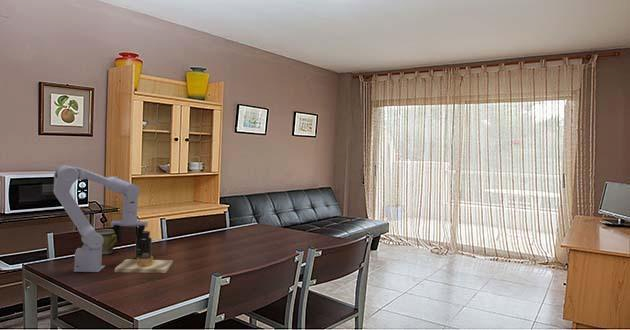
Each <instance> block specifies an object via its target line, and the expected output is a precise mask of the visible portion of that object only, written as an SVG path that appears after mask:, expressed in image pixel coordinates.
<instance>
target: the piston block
mask: <svg viewBox="0 0 630 330" xmlns="http://www.w3.org/2000/svg"><path fill="white" fill-rule="evenodd" d="M147 258H149V253H142V259H147ZM173 263H174V260H173V259H172V260H171V259H153V264H152V265H150V266H138V265H137V259H135V258H134V259H133V258H132V259H130V258H129V259H127V258H126V259H124V260H123V261H122V262H121V263H120V264H119V265H117V266H115V268H114V273H138V274H139V273H144V274H145V273H147V274H148V273H149V274H156V273H157V274H167V272H168V271H169V270H170V268H171V266H172V265H173Z"/></svg>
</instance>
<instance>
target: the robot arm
mask: <svg viewBox="0 0 630 330" xmlns="http://www.w3.org/2000/svg"><path fill="white" fill-rule="evenodd" d="M53 179H54V180H53V195H54V196H55V198H57V200H58V202H59V203H60V204H61V205H62V207H63V209H64V210H65V212H66V213H67V215H68V216H69V218H70V219H71V221H72V222H73V224H74V225H75V227H76V229H77V230H78V232H79V234H80V237H81V239H80V240H81V242H82V243H83V245H82V247H77V248H76V250H75V253H74V263H73V265H74V267H73V272H75V273H77V272H78V273H79V272H80V273H81V272H83V273H99V272H100V271H102V270H103V269H104V268H105V267H106V265H102V263H103V262H102V261H103V260H102V256H103V254H102V244H103V241H104V239H103V237H102V235H100V234H98V233H97V232H96V231H97V230H96V229H95V228H94V226H92V224H91V223H90V222H89V220H88V218H87V217H86V216H85V214H84V212H83V211H82V209H81V208H80V206H79V205H78V203H77V201H76V200H75V199H74V197H73V195H72V194H71V191H70V190H71V189H72V186H73V185H74V183H75V182H76V181H81V180H89V181H92V182H94V183H97V184H101V185H103V186H104V187H105V190H108V191H111V192H113V193H117V194H119V195H123V198H122V199H123V200H122V218H121V219H122V220H112V221H111V222H110V227H112V230H114V232H115V234H116V239H117V244H121V242H122V228H123V227H137V228H136V231H137V236H136V237H137V238H136V239H137V244H139V243H140V239H141V235H142V233H143V231H145V228H147V227H148V224H149V222H148V221H141V220H138V197H139V195H140V193H141V191H140V188H139V187H138V185H137V184H134V183H131V182H130V181H129V180H126V181H125V180H124V179H120V178H119V176H116V175H115V176H109V177H106V176H103V175H100V174H99V173H96V172H93V171H91V170H88V169H85V168H82V167H77V166H72V165H69V164H62V165H60V166H58V167H57V168H56V170H55V172H54V174H53Z"/></svg>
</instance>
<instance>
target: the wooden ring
mask: <svg viewBox="0 0 630 330" xmlns="http://www.w3.org/2000/svg"><path fill="white" fill-rule="evenodd" d="M136 260H137V265H138V266H150V265H152V264H153V260H154V256H153V255H151V256H150V255H149V258H147V259H142V256H139V257H137V258H136Z"/></svg>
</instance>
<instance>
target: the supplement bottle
mask: <svg viewBox="0 0 630 330" xmlns="http://www.w3.org/2000/svg"><path fill="white" fill-rule="evenodd" d="M150 233H151V232H150V230H144V231H143V233H142V235H141V239H140V243H139V244H137V238H136V239H135V250H134V251H135V252H134V257H135V258H134V259H137V257H139V256H142V253H149V255H150V256H152V242H153V241H152V240H153V239H152V237H150V235H151V234H150Z"/></svg>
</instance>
